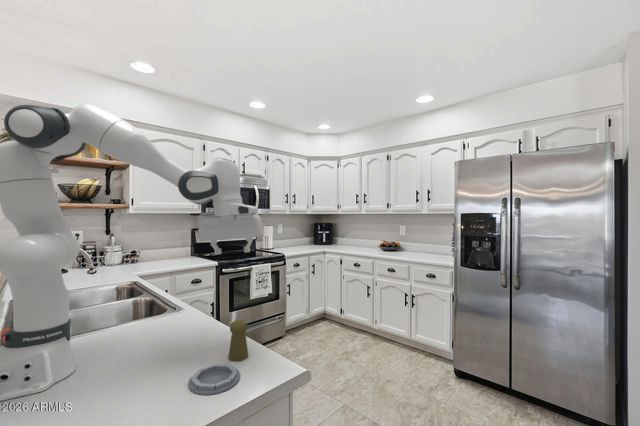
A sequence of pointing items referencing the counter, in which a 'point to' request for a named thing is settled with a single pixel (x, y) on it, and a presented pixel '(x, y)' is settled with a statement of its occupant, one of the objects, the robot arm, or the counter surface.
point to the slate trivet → (214, 379)
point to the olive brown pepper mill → (238, 341)
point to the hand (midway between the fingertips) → (232, 253)
